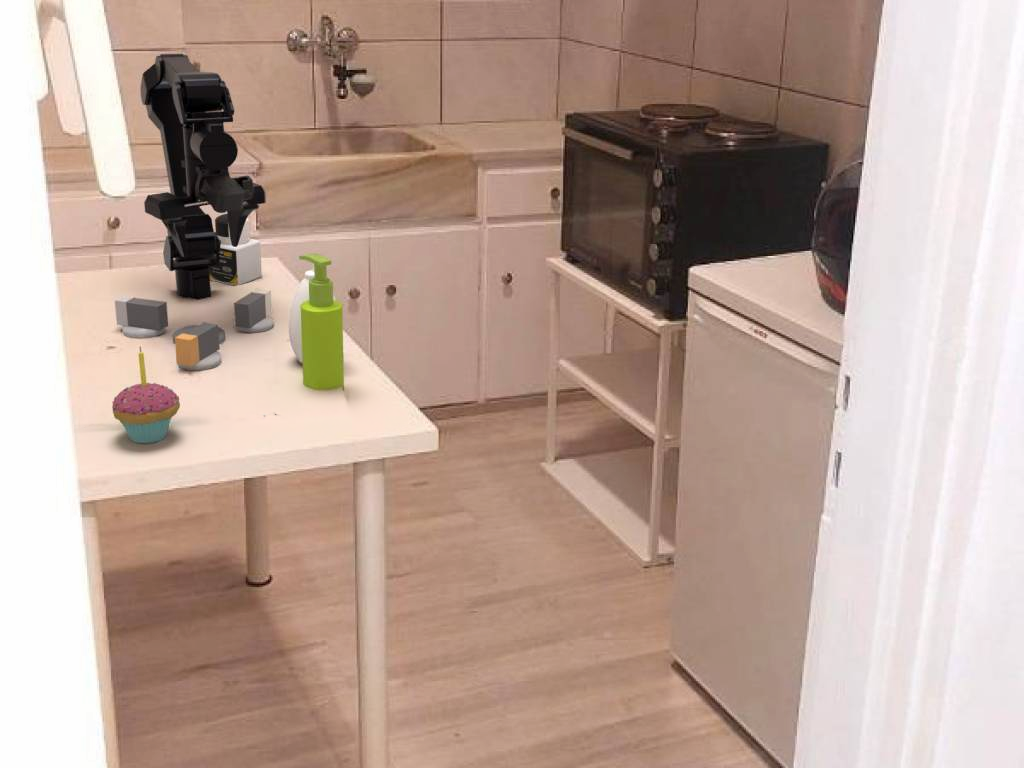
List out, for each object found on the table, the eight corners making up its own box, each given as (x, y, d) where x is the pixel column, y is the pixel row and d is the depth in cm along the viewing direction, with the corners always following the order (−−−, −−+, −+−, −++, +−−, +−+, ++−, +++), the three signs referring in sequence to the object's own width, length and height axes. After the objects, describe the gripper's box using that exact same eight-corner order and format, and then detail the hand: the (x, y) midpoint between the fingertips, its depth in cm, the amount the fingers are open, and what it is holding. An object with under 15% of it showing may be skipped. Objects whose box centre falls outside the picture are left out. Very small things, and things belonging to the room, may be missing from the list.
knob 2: (260, 335, 189) (259, 305, 187) (224, 330, 190) (223, 300, 188) (282, 320, 195) (281, 291, 193) (247, 316, 197) (245, 287, 195)
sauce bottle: (350, 372, 179) (348, 258, 172) (303, 381, 175) (298, 265, 168) (329, 355, 185) (326, 244, 178) (282, 364, 181) (277, 251, 174)
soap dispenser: (324, 376, 177) (320, 248, 169) (352, 390, 173) (349, 259, 165) (291, 386, 173) (286, 255, 165) (319, 400, 169) (315, 266, 161)
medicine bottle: (207, 280, 218) (203, 216, 213) (232, 270, 224) (229, 208, 219) (237, 286, 215) (234, 222, 210) (262, 277, 221) (259, 214, 216)
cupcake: (112, 427, 158) (104, 343, 154) (177, 419, 161) (171, 337, 157) (118, 453, 151) (109, 367, 146) (186, 445, 154) (179, 360, 149)
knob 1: (194, 350, 182) (192, 319, 180) (231, 356, 180) (229, 325, 178) (166, 368, 175) (163, 335, 173) (203, 374, 173) (201, 342, 171)
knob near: (175, 327, 191) (173, 297, 189) (153, 340, 185) (150, 310, 183) (133, 321, 192) (130, 292, 191) (110, 334, 187) (107, 304, 185)
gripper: (174, 173, 173) (182, 274, 179) (282, 158, 185) (286, 253, 191) (138, 159, 181) (147, 256, 187) (245, 145, 192) (249, 237, 199)
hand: (209, 251), depth 191 cm, fingers open, 9 cm apart
